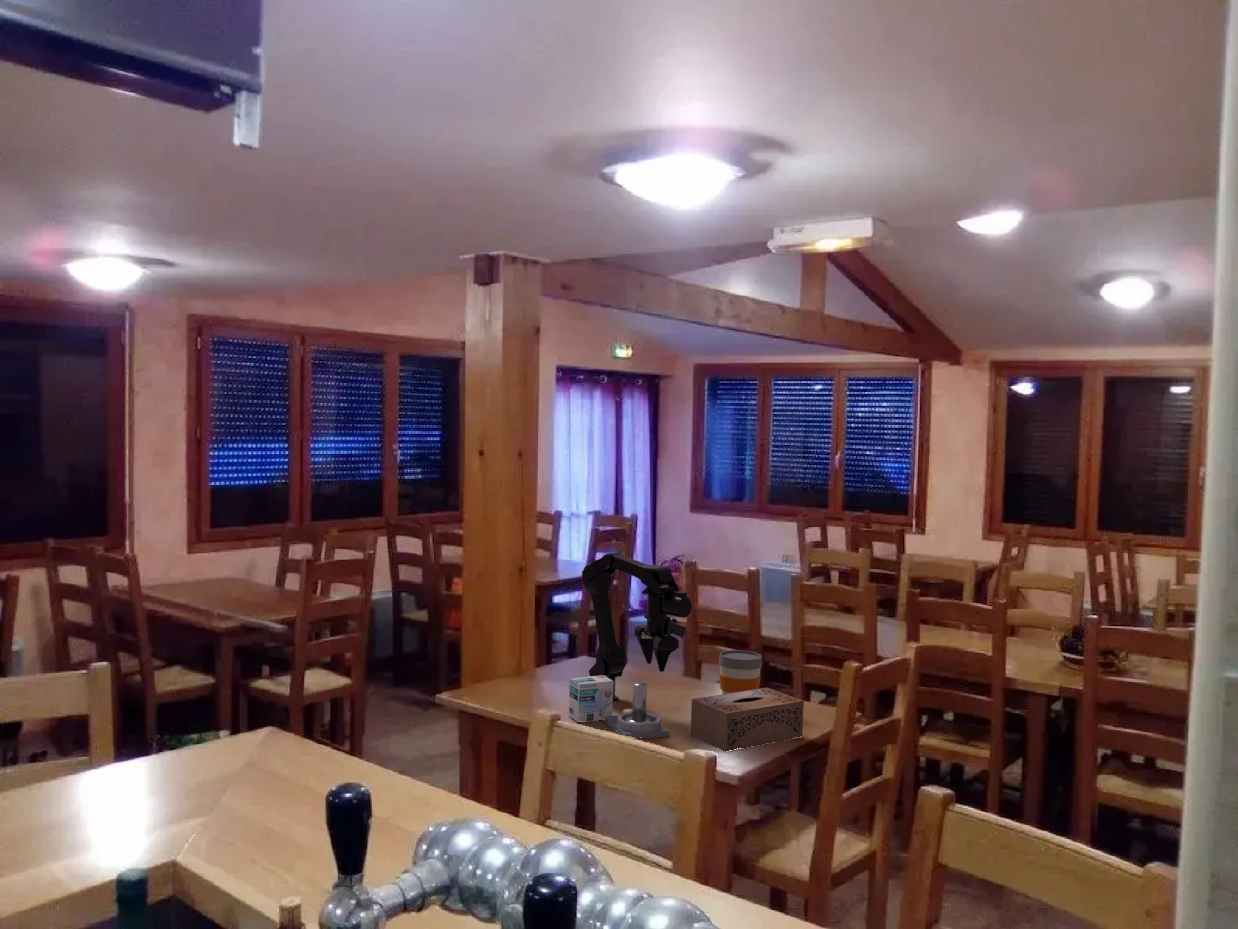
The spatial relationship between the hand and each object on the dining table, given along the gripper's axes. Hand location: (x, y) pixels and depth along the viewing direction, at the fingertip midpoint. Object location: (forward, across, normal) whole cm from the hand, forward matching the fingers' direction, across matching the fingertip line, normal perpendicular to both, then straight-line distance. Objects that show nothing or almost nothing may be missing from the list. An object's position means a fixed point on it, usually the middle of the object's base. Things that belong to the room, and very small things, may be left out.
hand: (655, 667), depth 281 cm
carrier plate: (+13, -12, +10) cm, 20 cm away
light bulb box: (+13, 0, +18) cm, 23 cm away
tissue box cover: (+14, -25, -16) cm, 33 cm away
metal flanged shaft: (+12, -14, +10) cm, 21 cm away
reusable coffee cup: (+13, +1, -27) cm, 30 cm away
